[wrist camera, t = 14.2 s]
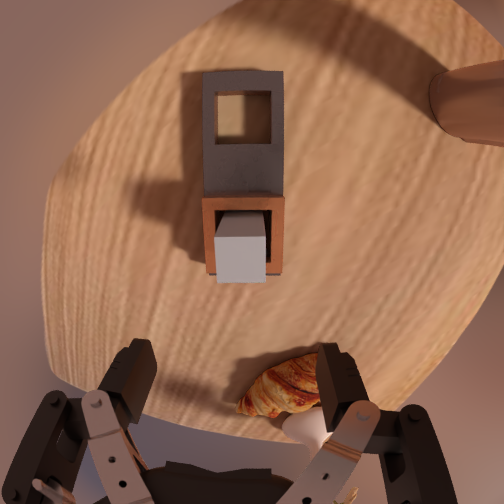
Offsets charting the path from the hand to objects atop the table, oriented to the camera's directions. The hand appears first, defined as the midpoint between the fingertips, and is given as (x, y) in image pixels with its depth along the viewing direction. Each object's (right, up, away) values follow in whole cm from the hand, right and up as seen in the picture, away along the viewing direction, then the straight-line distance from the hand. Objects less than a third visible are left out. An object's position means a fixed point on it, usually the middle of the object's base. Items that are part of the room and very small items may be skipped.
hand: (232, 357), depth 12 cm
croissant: (+6, -15, +29) cm, 33 cm away
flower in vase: (+12, -26, +33) cm, 44 cm away
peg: (0, +8, +19) cm, 21 cm away
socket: (0, +13, +17) cm, 22 cm away
